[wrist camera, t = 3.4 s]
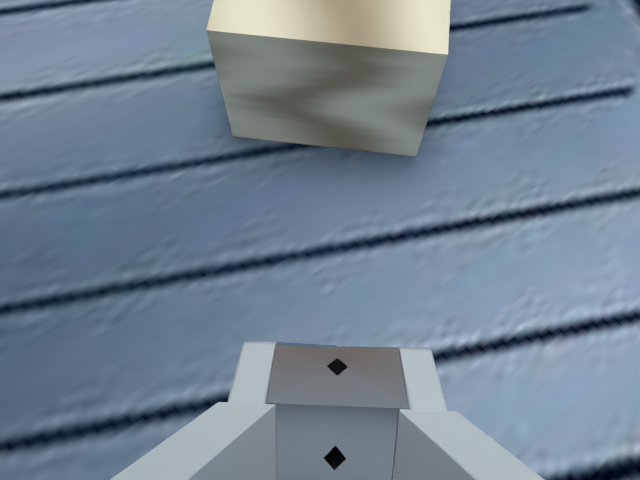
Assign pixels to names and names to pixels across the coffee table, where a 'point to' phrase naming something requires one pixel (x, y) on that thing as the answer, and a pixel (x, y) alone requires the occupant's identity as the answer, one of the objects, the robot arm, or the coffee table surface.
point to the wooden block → (330, 69)
